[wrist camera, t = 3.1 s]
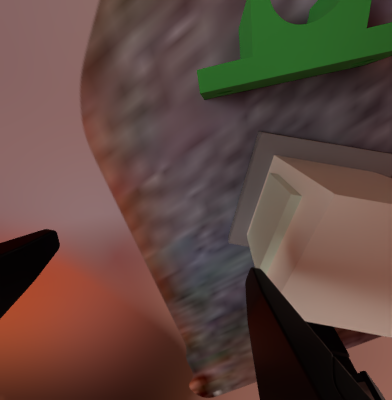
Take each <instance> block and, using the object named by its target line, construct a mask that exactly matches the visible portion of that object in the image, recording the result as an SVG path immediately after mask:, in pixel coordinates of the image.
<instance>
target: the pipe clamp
mask: <svg viewBox="0 0 392 400" xmlns="http://www.w3.org/2000/svg"><path fill="white" fill-rule="evenodd" d="M370 6H371V0H318V1H317V2H316V3H315V4H314V5H313V6H312V8H311V9H310V12H309V18H308V22H307V24H302V25H296V24H291V23H288V22H286V21H285V20H283V19H282V18H281V17H279V16H278V14H277V13H276V12H275V10H274V9H273V7H272V4H271V2H270V0H246V4H245V8H244V12H243V15H242V19H241V23H240V26H239V41H240V57H241V59H240V60H236V61H232V62H228V63H224V64H220V65H216V66H212V67H208V68H203V69H199V70H197V75H198V82H199V89H200V94H201V95H202V97H203V98H204V100H206V99H210V98H215V97H219V96H224V95H229V94H233V93H238V92H243V91H247V90H252V89H257V88H261V87H266V86H271V85H275V84H280V83H284V82H289V81H294V80H298V79H303V78H308V77H312V76H317V75H322V74H326V73H331V72H335V71H340V70H345V69H349V68H354V67H359V66H363V65H366V64H369V63H372V62H375V61H378V60H381V59H384V58H387V57H390V56H392V22H391V23H387V24H383V25H379V26H374V27H370V28H367V23H368V18H369V12H370Z"/></svg>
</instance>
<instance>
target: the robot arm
mask: <svg viewBox="0 0 392 400" xmlns="http://www.w3.org/2000/svg"><path fill="white" fill-rule="evenodd" d="M59 246H60V243H59V239H58V235H57V232H56V231H54V230H49V229H44V230H41V231H38V232H35V233H31V234H28V235H25V236H22V237H18V238H15V239H12V240H9V241H6V242H2V243H0V318H1V317H2V316H3V315H4V314H5V313H6V312H7V311H8V310H9V308H10V307H11V306H12V305H13V304H14V303H15V302H16V301H17V300H18V299H19V297H20V296H21V295H22V294H23V293H24V292H25V291H26V290H27V289H28V287H29V286H30V285H31V284H32V283H33V282H34V280H35V279H36V278H37V277H38V276H39V274H40V273H41V272H42V270H43V269H44V268H45V266H46V265H47V264H48V263H49V261H50V260H51V259H52V257H53V256H54V255H55V253H56V252H57V251H58V249H59ZM245 286H246V304H247V320H248V328H249V334H250V341H251V347H252V353H253V360H254V366H255V372H256V379H257V384H258V391H259V397H260V400H385V398H384V397H383V395H382V393H381V392H380V390H379V389H378V387H377V386H376V385H375V383H374V382H373V381H372V379H371V378H370V377H369V375H368V374H367V372H366V371H361V372H360V373H357V371H356V370H355V368H354V366H353V364H352V362H351V361H350V359H349V354H348V352H347V350H346V348H345V346H344V345H343V343H342V341H341V339H340V338H339V336H338V334H337V332H336V331H335V329H334V328H335V327H333V326H327V325H322V324H317V323H312V322H306V321H304V319H303V318H302V317H301V316H300V315H299V313H298V312H297V311H296V310H295V309H294V308H293V306H292V305H291V304H290V303H289V302H288V300H287V299H286V298H285V297H284V296H283V294H282V293H281V292H280V291H279V290H278V288H277V287H276V286H275V285H274V284H273V282H272V281H271V280H270V279H269V278H268V277H267V275H266V274H265V273H264V272H263V271H262V270H261V269H260V268H255V267H252V268H251V269H250V271H249V273H248V276H247V278H246V284H245Z"/></svg>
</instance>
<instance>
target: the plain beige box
mask: <svg viewBox="0 0 392 400" xmlns="http://www.w3.org/2000/svg"><path fill="white" fill-rule="evenodd" d="M391 176H392V154H390V153H384V152H378V151H372V150H367V149H361V148H355V147H349V146H343V145H337V144H331V143H325V142H319V141H313V140H307V139H301V138H295V137H289V136H283V135H277V134H272V133H266V132H260V131H259V132H258V135H257V139H256V142H255V146H254V149H253V153H252V156H251V160H250V163H249V167H248V170H247V173H246V177H245V180H244V184H243V187H242V191H241V194H240V198H239V201H238V205H237V208H236V212H235V215H234V219H233V222H232V226H231V229H230V232H229V236H228V240H229V243H232V244H237V245H243V246H248V247H250V250H251V254H252V258H253V261H254V265H255V268H260V269H261V270H262V271H263V272H264V273H265V274H266V275H267V277H268V278H269V279H270V280H271V281H272V282H273V284H274V285H275V286H276V287H277V288H278V290H279V291H280V292H281V293H282V294H283V296H284V297H285V298H286V299H287V300H288V302H289V303H290V304H291V305H292V306H293V308H294V309H295V310H296V311H297V312H298V313H299V315H300V316H301V317H302V318H303V319H304V321H306V322H312V323H317V324H322V325H327V326H333V327H338V328H343V329H348V330H354V331H359V332H364V333H369V334H375V335H380V336H385V337H391V338H392V178H391Z"/></svg>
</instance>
